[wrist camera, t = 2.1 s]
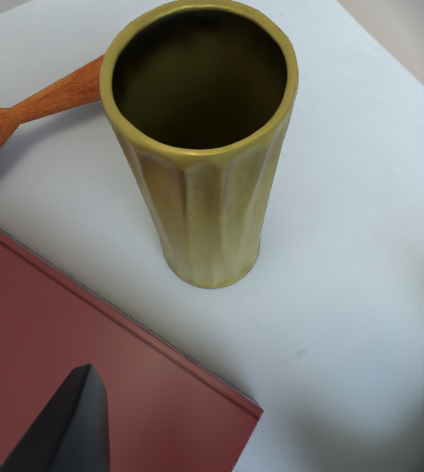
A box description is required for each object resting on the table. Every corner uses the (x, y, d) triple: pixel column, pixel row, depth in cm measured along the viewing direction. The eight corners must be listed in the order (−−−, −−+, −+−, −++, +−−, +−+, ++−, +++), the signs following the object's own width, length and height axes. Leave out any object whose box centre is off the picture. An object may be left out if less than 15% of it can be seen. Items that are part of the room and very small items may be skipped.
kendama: (177, 61, 22) (-170, 214, 18) (173, 113, 28) (-90, 239, 23) (129, -13, 23) (-219, 117, 18) (135, 53, 29) (-129, 164, 24)
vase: (255, 195, 24) (302, -22, 10) (264, 287, 22) (336, 168, 8) (163, 199, 24) (88, -11, 10) (163, 291, 22) (69, 181, 8)
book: (257, 402, 20) (264, 410, 16) (109, 676, 16) (83, 753, 13) (-9, 223, 23) (-44, 202, 20) (-176, 413, 20) (-249, 423, 17)
